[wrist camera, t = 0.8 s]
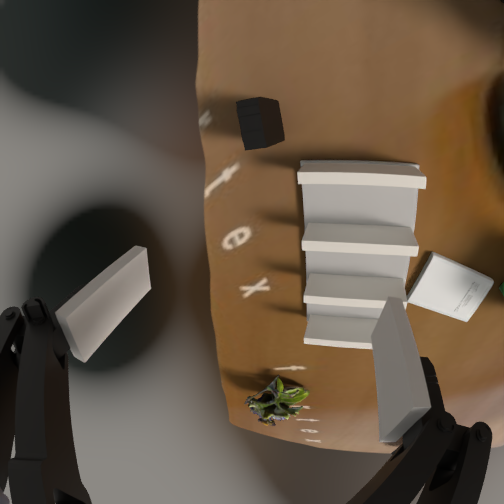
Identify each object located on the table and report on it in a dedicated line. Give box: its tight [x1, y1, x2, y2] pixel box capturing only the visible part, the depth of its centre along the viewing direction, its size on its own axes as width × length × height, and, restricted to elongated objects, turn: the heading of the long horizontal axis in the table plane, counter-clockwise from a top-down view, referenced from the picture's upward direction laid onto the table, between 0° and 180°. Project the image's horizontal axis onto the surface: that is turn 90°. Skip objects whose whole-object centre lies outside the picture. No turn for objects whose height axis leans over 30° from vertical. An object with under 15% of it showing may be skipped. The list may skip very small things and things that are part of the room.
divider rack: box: [297, 160, 426, 349], centre depth 32 cm, size 14×24×6 cm, turn 7°
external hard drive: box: [407, 252, 494, 322], centre depth 31 cm, size 2×8×12 cm
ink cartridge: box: [236, 97, 285, 150], centre depth 26 cm, size 5×2×8 cm, turn 10°
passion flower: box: [245, 375, 310, 426], centre depth 51 cm, size 11×11×12 cm
